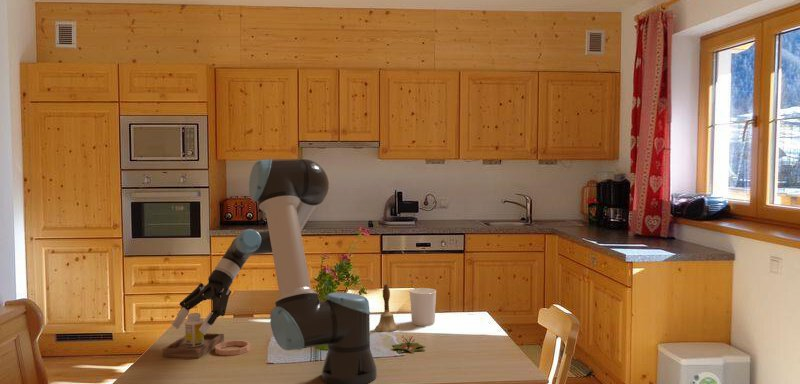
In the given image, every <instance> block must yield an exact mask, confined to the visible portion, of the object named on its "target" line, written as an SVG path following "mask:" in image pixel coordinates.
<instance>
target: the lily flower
mask: <svg viewBox="0 0 800 384" xmlns="http://www.w3.org/2000/svg"><path fill="white" fill-rule="evenodd" d="M404 336H405V335H401V338H403V340H402V342H401V343H399V344H398V343H396V344H392V348H391V349H390V350H397V349H398V350H397V353H398V354H401V353H405V352H410V353H411V354H414V353H415V351H416V352H417V351H422V352H423V351H424V352H426V350H425V349H424V348H422V347H426V346H425V345H422V344H420V343H419V342H415V340H416V339H415V338H414V339H413V337H414V335H412V336H411V334H410V335H409V337H407V338H406V337H404ZM406 336H408V335H407V334H406ZM406 348H407V349H406ZM403 350H404V351H403Z"/></svg>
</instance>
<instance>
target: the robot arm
mask: <svg viewBox="0 0 800 384" xmlns="http://www.w3.org/2000/svg"><path fill="white" fill-rule="evenodd" d="M248 182H249V183H248V190H249V191H248V192H249V198H250V200H251V201H253V202H257V203H258V207H259V210H261V211H262V212H264V213H265V215H266V221H267V228H268V230H266V231H265V230H264V231H257V230H255V229H252V228H248V229H244V230H242V231H241V232H240V233H239V234H238V235H236V237H235V238H234V239H233V240H232V242H231V243H230V245H229V247H228V248H227V250H226V251H225V252H224V254H223V256H222V258H220V259H219V261H218V263H217V265H216V266H215V267H214V270H212V272H211V273H210V275H209V276H208V282H207V284H203V282H201V283H199V284H198V286H197V287H196V288H195V289H193V291H191V292H190V293H189V294H188V295H187V296H186V297H185V298H184V299H183V300H182V301H180V302H179V306H180V307H181V308H180V310H179V311H178V313H177V315H176V316H175V318H174V320H173V321H172V323H171V326H173V327H174V328H175V329H177V330H179V328H180V327H181V326H182V324H183V322H184V321H185V319H186V317H188V314H190V310H191V309H193V308H194V307H196V306H197V305H199V304H200V303H202V302H203V301H207V300H211V302H212V306H211V307H212V308H211V310H210V312H209V313H208V315H206V318H205V319H204V320H203V324H202V325H201V327H200V328H199V331H200V332H201V333H202V334H203V335H205V334H206V333H208V331H209V330H210V328H211V326H213V325H214V323H215V322H216V320H217V318H219V317H220V316H222V317H224V316H225V315H226V311H227V307H228V301H229V298H230V296H231V293H232V291H231V289H230V287H231V285H232V284H233V281H234V280H235V279H236V278H237V276H238V274H239V272H241V270H242V268H243V267H244V265H245V263H246V262H247V261H248V260H249V258H250V257H251V256H254V255H261V254H272V257H273V264H274V268H275V275H276V280H277V281H276V282H277V285H278V286H277V288H278V293H279V295H278V297H277V298H276V300H275V302H274V304H275V306H274V307H273V308H272V309H271V310H270V313H269V314H270V315H269V318H270V321H269V322H270V328H271V332H272V335H273V338H274V339H275V341H276V343H277V344H278V346H279V347H280V348H281V349H283V350H285V351H294V350H295V351H296V350H298V351H301V350H303V349H309V348H314V347H320V346H324V345H327V352H326V356H325V359H324V362H323V366H322V370H321V375H322V376H321V378H322V381H323V382H324V383H326V384H369V383H371V382H373V381H374V380H376V378H377V375H378V374H377V373H378V371H377V366H376V363H375V360H374V357H373V354H372V351H371V345H370V343H371V340H370V339H371V338H370V337H371V334H370V332H371V329H370V328H371V327H370V325H371V324H370V315H371V312H370V304H369V300H368V298H367V297H366V296H363V295H361V294H356V293H350V292H331V293H327V295H326V298H325V299H326V300H320V298H319V293H318V292H317V291H316V290H314V289H312V286H311V279H310V276H309V274H310V273H309V270H308V269H309V268H308V266H307V265H308V264H307V263H308V262H307V258H306V254H305V248H304V244H303V238H302V236H303V235H302V231H303V228H304V227H305V226H306V224H307V222H308V220H309V218H310V217H311V215H312V213H313V212H314V211H315V209H316V207H317V206H319V205H321V204H322V203H323V201H324V200H325V199H326V198H327V197H326V196H327V195H328V192H329V190H330V189H329V188H330V187H329V185H330V183H329V178H328V174H327V173H326V170H325V169H324V168H323V167H322V166H321V165H320V164H319V163H317V162H315V161H313V160H311V159H307V158H300V159H299V158H293V159H291V158H290V159H284V158H283V159H281V158H280V159H272V158H269V159H259V160H257V161H256V162H255V163H254V164H253V165H252V167H251V171H250V176H249V181H248Z"/></svg>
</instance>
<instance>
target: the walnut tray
mask: <svg viewBox="0 0 800 384" xmlns="http://www.w3.org/2000/svg"><path fill="white" fill-rule="evenodd" d="M221 342H225V333H208V332H207V333H206V334H205V335H204V344H203V345H202V346H200V347H194V348H190V347H187V346H186V335H184V336H183V337H181V338H179V339H178V340H176V341H174V342H172V343H170V344H169V345H166V346H165V347H164V348H162V357H163V358H183V359H187V358H188V359H200V358H202V357H203V356H205V355H206V354H207V353H209V352H211V351H212V350H214V349H215V345H217V344H218V343H221Z"/></svg>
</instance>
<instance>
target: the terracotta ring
mask: <svg viewBox="0 0 800 384" xmlns="http://www.w3.org/2000/svg"><path fill="white" fill-rule="evenodd" d="M234 346H236V347H238V346H239V348H234V349H233V348H232V349H231V348H230V349H228V348H229V347H234ZM226 347H228V348H227V349H224V348H226ZM249 351H251V343H250V341H247V340H242V339H240V340H239V339H238V340H237V339H234V340H224V342H221V343H218V344H217V345H215V348H214V353H215V354H216V355H219V356H235V355H237V356H238V355H242V354H244V353H248V352H249Z"/></svg>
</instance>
